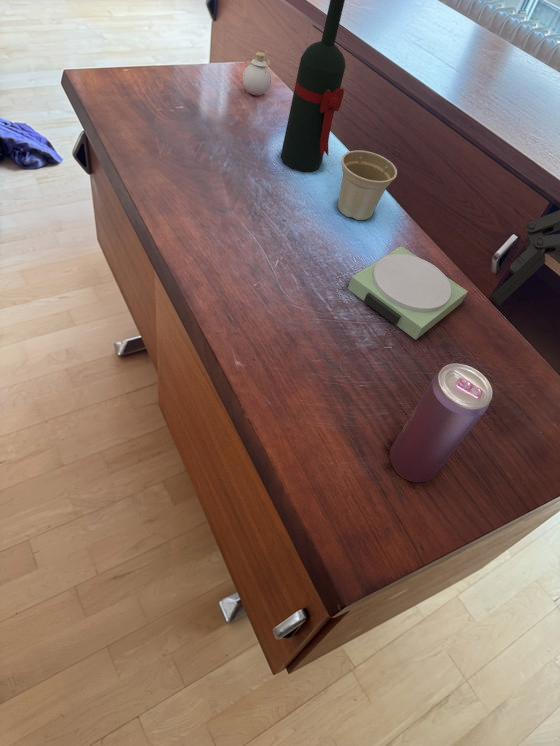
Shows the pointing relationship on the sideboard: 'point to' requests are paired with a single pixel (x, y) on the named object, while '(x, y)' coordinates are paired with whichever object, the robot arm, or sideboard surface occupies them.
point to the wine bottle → (315, 98)
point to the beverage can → (440, 421)
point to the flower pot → (363, 182)
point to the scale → (407, 291)
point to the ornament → (257, 75)
